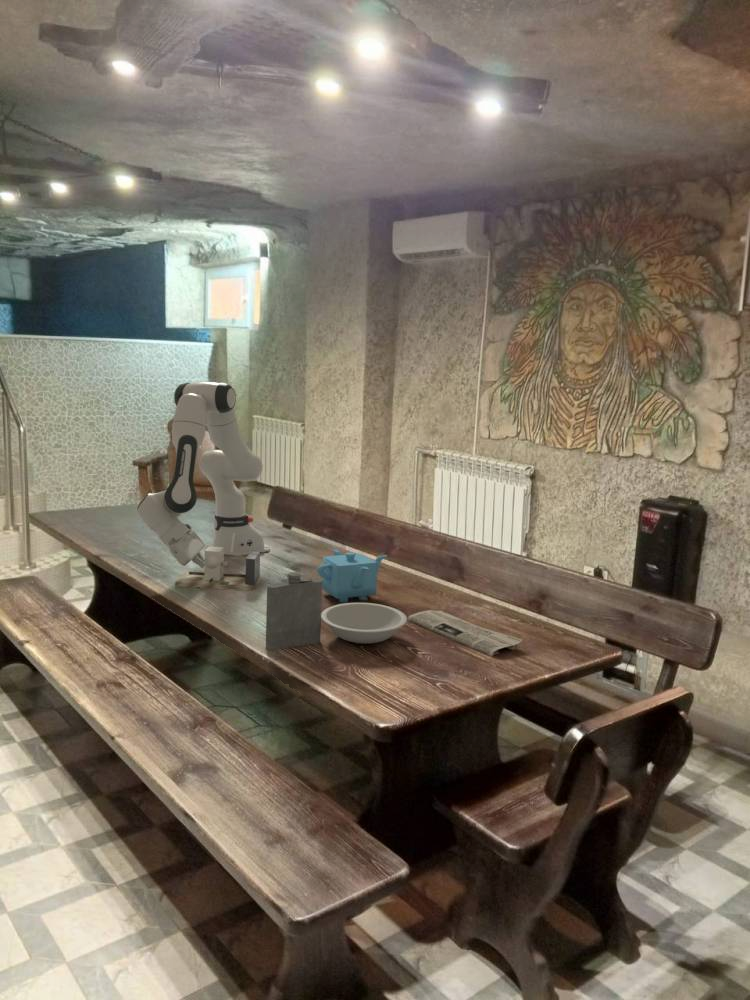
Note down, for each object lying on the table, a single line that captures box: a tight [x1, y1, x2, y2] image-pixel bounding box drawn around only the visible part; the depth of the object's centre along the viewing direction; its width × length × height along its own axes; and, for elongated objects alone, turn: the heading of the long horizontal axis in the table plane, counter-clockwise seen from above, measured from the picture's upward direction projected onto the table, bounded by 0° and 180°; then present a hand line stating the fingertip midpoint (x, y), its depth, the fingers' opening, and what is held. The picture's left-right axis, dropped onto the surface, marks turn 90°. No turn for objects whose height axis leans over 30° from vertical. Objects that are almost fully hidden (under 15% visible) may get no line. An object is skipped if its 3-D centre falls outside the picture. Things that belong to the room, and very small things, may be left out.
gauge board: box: [174, 571, 261, 592], centre depth 262 cm, size 26×12×2 cm, turn 89°
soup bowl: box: [321, 602, 408, 644], centre depth 218 cm, size 24×24×7 cm
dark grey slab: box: [245, 551, 261, 585], centre depth 261 cm, size 3×10×9 cm, turn 179°
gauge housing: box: [204, 546, 229, 582], centre depth 260 cm, size 7×9×10 cm
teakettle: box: [316, 548, 388, 604], centre depth 253 cm, size 19×19×15 cm
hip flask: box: [265, 571, 323, 652], centre depth 210 cm, size 16×4×20 cm, turn 121°
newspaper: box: [407, 609, 523, 658], centre depth 225 cm, size 35×12×4 cm, turn 40°
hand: (204, 565), depth 261 cm, fingers closed, pressing on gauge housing
